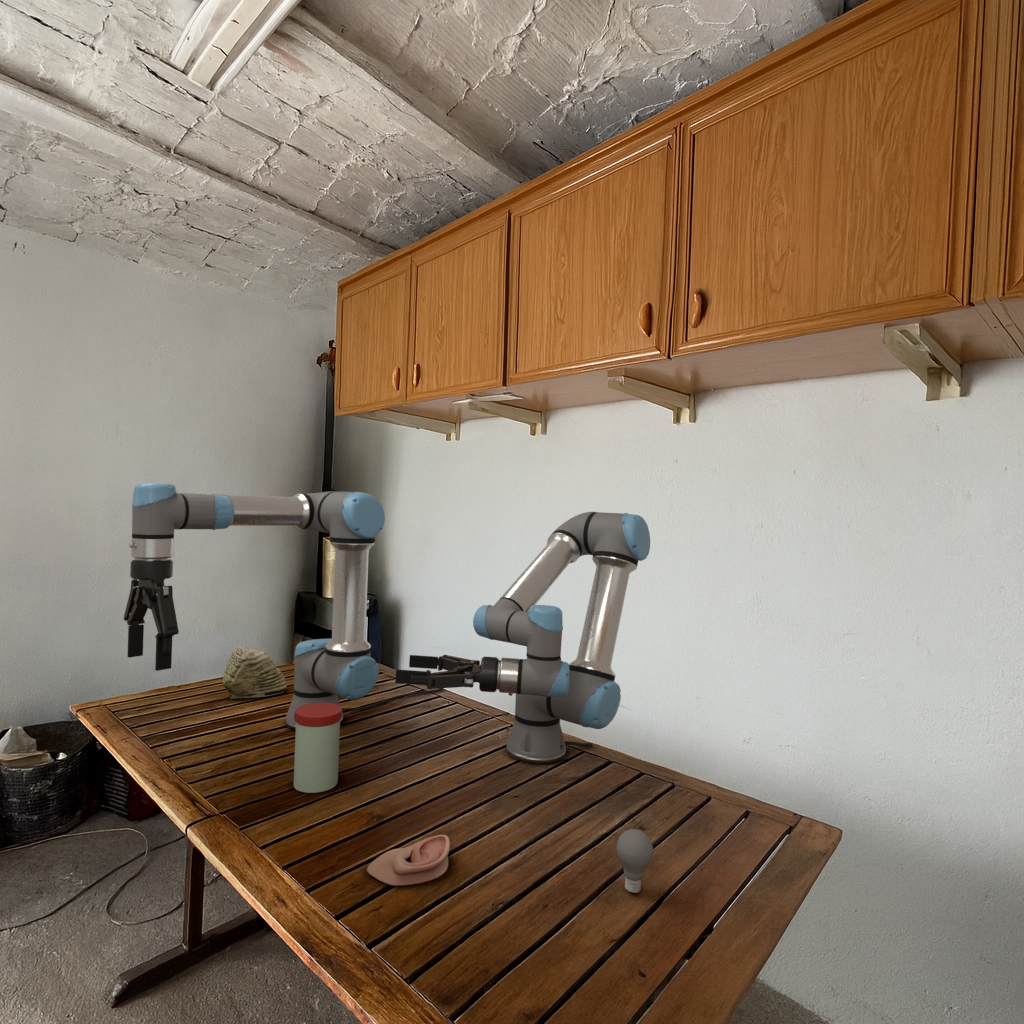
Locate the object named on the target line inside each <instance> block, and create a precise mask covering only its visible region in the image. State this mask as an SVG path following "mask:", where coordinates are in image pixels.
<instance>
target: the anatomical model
mask: <svg viewBox="0 0 1024 1024" xmlns="http://www.w3.org/2000/svg"><path fill="white" fill-rule="evenodd" d="M450 849H451V843H450V838H449V836H448V835H446V834H437V835H434V836H430V837H426V838H423V839H421V840H419V841H417V842H415V843H413V844H410V845H408V846H406V847H403V848H402V847H400V848H394V849H390V850H388V851H386V852H384V853H382V854H381V855H379V856H378V857H376V858H375V859H374V860H373V861H371V862H370V864H369V865H368V866H367V868H366V872H367V873H368V874H369V875H370V876H371V877H373V878H374V879H376V880H378V881H379V882H382V883H384V884H386V885H389V886H410V885H415V884H421V883H425V882H430V881H432V880H435V879H437V878H439V877H441V876H443V874H445V873H446V872H447V870H448V868H449V857H448V855H449V853H450Z"/></svg>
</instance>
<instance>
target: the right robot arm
mask: <svg viewBox="0 0 1024 1024" xmlns="http://www.w3.org/2000/svg"><path fill="white" fill-rule="evenodd" d="M650 550H651V534H650V530H649V526H648V523H647V521H646V520H645V519H644V518H643V517H642V516H641V515H639V514H635V513H634V514H633V513H629V512H623V513H620V512H619V513H618V512H603V511H602V512H601V511H599V512H598V511H585V512H582V513H579V514H577V515H574V516H572V517H570V518H569V519H567V520H566V521H564V522H563V523H562V524H560V525H559V526H558V527H557V528H555V530H554V531H553V532H552V533H551V534H550V535H549V536H548V538H547V540H546V545H545V547H544V548H543V549H542V550H541V551H540V552H539V554H537V556H536V557H535V558H533V560H532V561H531V562H530V564H529V565H528V566H527V567H526V568H525V569H524V570H523V572H522V573H521V574H520V575H519V576H518V577H517V578H516V579H515V581H514V582H513V583H512V584H511V585H510V586H509V587H508V589H507V590H506V591H505V592H504V593H503V594H502V596H501V597H500V598H499V599H498V600H497V601H496V602H495V603H494V605H491V604H483V605H481V606H479V607H478V608H477V609H476V611H475V612H474V615H473V618H472V619H473V620H472V625H473V630H474V632H475V633H476V635H478V636H479V637H482V638H485V639H489V640H491V641H498V642H503V643H508V644H513V645H518V646H522V647H526V655H525V656H526V658H515V657H501V658H500V659H499V658H498V657H497V656H482V657H481V660H478V659H469V658H465V657H464V658H463V657H458V656H453V655H448V654H443V655H442V656H441V655H440V656H431V655H418V654H409V660H408V662H409V663H408V668H415V669H426V671H425V670H412V669H398V668H397V669H396V670H395V681H394V683H395V684H401V685H404V684H405V685H417V686H426V688H427V689H428V690H436V689H440V688H444V689H452V688H474V684H475V683H478V685H479V686H478V687H479V688H478V689H479V691H480V692H482V693H483V692H484V693H495V692H497V691H498V692H499V693H500V694H508V696H510V697H511V696H513V695H515V702H514V703H515V705H514V706H515V707H514V722H513V725H512V727H511V725H509V726H508V727H507V728H506V734H508V733H509V735H508V737H507V741H506V748H505V751H506V753H507V755H508V756H509V757H511V758H512V759H514V760H516V761H519V762H523V763H527V764H534V765H535V764H536V765H544V764H545V765H547V764H552V763H556V762H560V761H561V760H563V759H564V758H565V757H566V754H567V746H577V747H582V748H591V747H593V743H592V742H588V743H587V742H586V743H584V742H577V741H571V740H570V741H569V740H565V737H564V734H563V730H562V726H561V721H564V722H568V723H571V724H574V725H578V726H581V727H583V728H590V729H594V730H602V729H604V728H606V727H607V726H608V725H609V724H611V722H613V720H614V718H616V717H615V716H616V715H617V712H618V710H619V708H620V704H621V700H622V699H621V698H622V694H621V691H622V690H621V686H620V685H619V684H618V683H617V682H616V681H615V680H616V673H615V672H614V670H613V669H612V668H613V667H612V664H613V658H614V653H615V650H616V649H615V648H616V644H617V638H618V633H619V629H620V625H621V624H620V623H621V618H622V613H623V609H624V605H625V604H624V603H625V599H626V594H627V588H628V583H629V578H630V574H631V573H633V572H634V571H636V570H637V569H638V565H639V561H640V562H642V561H644V560H646V559H647V558H648V556H649V554H650ZM583 556H591V557H592V558H591V560H592V562H593V563H594V564H595V572H594V576H593V580H592V585H591V589H590V594H589V600H588V604H587V609H586V614H585V618H584V622H583V627H582V632H581V637H580V642H579V646H578V651H577V654H576V658H575V659H574V660H573V661H571V662H569V663H568V662H567V661H563V660H562V657H561V656H562V642H563V641H562V639H563V630H564V625H563V610H562V609H561V608H560V607H558V606H556V605H548V604H547V605H546V604H538V602H539V601H540V600H541V599H542V597H544V595H545V594H546V593H547V591H548V590H549V589H550V588H551V586H553V584H554V583H555V582H556V580H557V579H558V578H559V577H560V576H561V574H562V573H563V572H564V571H565V570H566V568H567V567H568V566H569V564H573V563H575V562H577V560H578V559H579V558H580V557H583ZM431 670H437V671H435V672H432V671H431Z"/></svg>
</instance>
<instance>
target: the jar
mask: <svg viewBox="0 0 1024 1024" xmlns="http://www.w3.org/2000/svg"><path fill="white" fill-rule="evenodd" d="M294 733H295V737H294V762H293V763H294V765H293V788H294V789H295V790H296V791H298V792H302V793H309V794H316V793H322V792H326V791H329V790H332V789H333V788H335V787H336V786H337V785H338V782H339V760H340V735H341V724H340V721H338V722H336V723H334V724H330V725H326V726H304V725H300V724H298V723H296V731H295V732H294Z"/></svg>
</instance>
